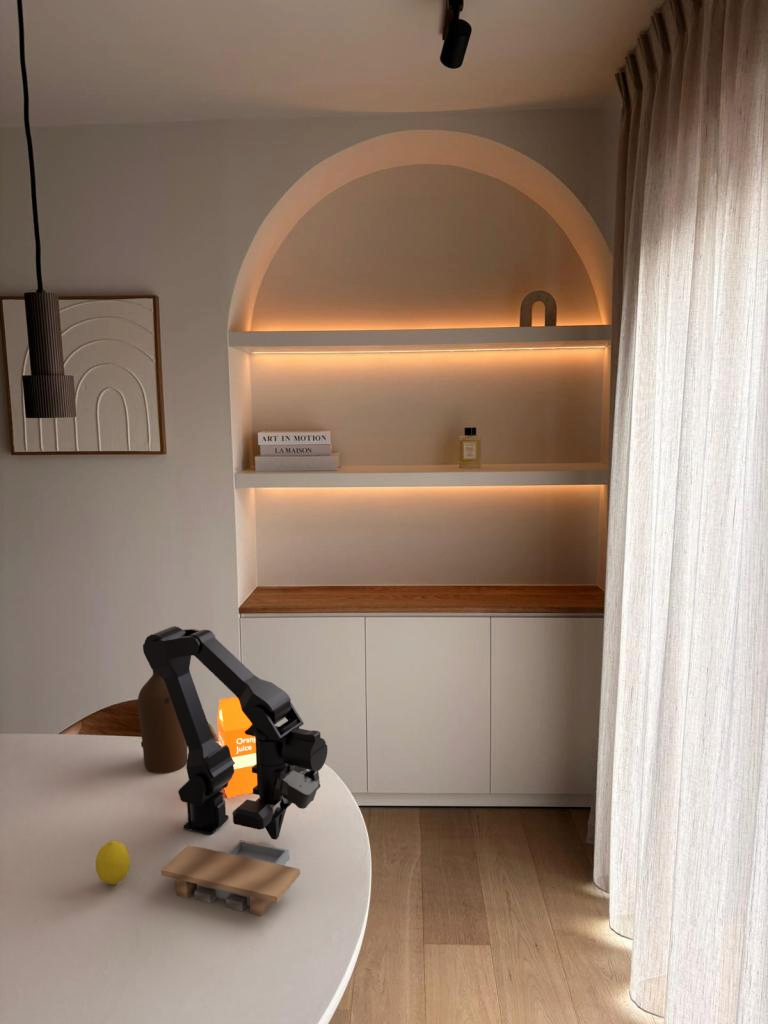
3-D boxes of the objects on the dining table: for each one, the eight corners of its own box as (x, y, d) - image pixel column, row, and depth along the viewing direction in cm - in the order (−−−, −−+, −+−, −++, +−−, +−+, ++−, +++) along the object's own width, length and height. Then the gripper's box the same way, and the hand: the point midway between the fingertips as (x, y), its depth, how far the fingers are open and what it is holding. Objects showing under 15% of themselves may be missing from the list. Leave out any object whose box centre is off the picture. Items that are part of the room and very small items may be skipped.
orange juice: (269, 789, 171) (265, 699, 168) (227, 798, 167) (222, 706, 164) (260, 773, 178) (256, 686, 175) (219, 781, 174) (215, 693, 171)
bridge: (162, 891, 136) (160, 869, 136) (189, 865, 144) (188, 844, 143) (278, 920, 128) (277, 896, 128) (300, 890, 136) (299, 868, 135)
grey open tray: (197, 894, 136) (196, 883, 135) (240, 849, 149) (240, 839, 148) (249, 906, 132) (249, 895, 132) (289, 860, 145) (288, 849, 145)
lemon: (120, 896, 135) (117, 851, 134) (90, 892, 136) (87, 848, 135) (137, 876, 141) (134, 834, 139) (108, 873, 142) (105, 831, 141)
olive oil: (200, 760, 185) (194, 654, 181) (165, 779, 176) (158, 669, 172) (166, 750, 190) (160, 647, 186) (131, 768, 181) (124, 661, 178)
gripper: (285, 790, 136) (288, 875, 139) (334, 745, 153) (336, 821, 156) (229, 779, 140) (233, 862, 143) (282, 736, 157) (285, 811, 160)
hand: (275, 838), depth 150 cm, fingers closed
